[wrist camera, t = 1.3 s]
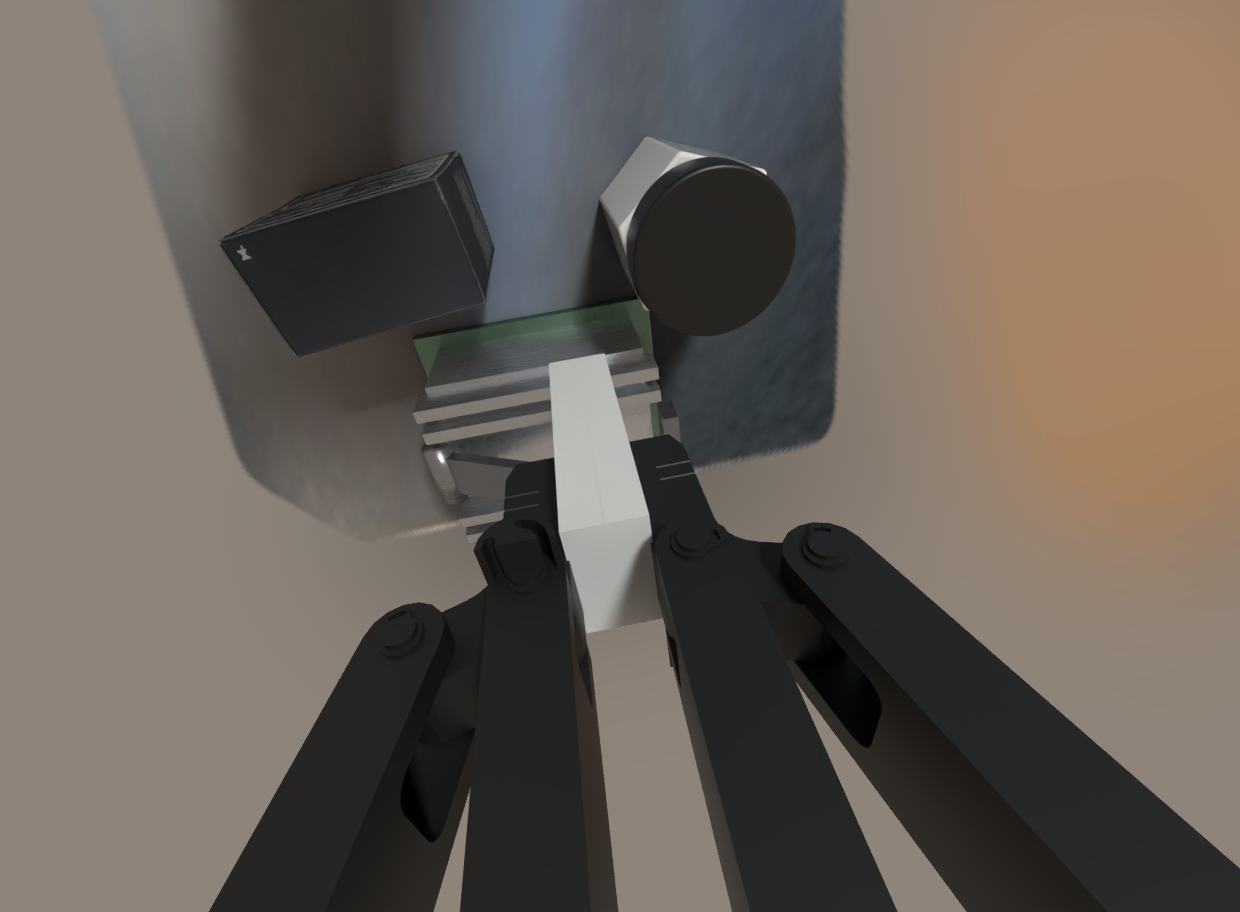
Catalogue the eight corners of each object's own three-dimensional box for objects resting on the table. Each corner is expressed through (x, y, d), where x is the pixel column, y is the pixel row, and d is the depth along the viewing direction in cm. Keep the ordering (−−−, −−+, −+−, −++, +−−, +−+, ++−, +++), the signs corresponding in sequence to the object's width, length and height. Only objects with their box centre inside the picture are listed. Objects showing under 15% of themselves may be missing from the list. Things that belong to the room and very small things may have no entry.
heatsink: (414, 336, 37) (386, 395, 30) (646, 294, 38) (672, 343, 31) (472, 485, 46) (461, 559, 39) (662, 449, 46) (686, 515, 39)
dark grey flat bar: (452, 486, 38) (436, 503, 37) (431, 436, 35) (413, 453, 34) (633, 513, 33) (623, 534, 32) (624, 458, 30) (612, 478, 29)
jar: (589, 262, 36) (610, 326, 26) (610, 125, 32) (645, 143, 22) (710, 281, 38) (770, 348, 28) (746, 155, 34) (833, 184, 24)
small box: (350, 298, 35) (293, 366, 27) (292, 196, 32) (204, 237, 23) (499, 255, 35) (489, 309, 27) (459, 147, 31) (432, 170, 23)
